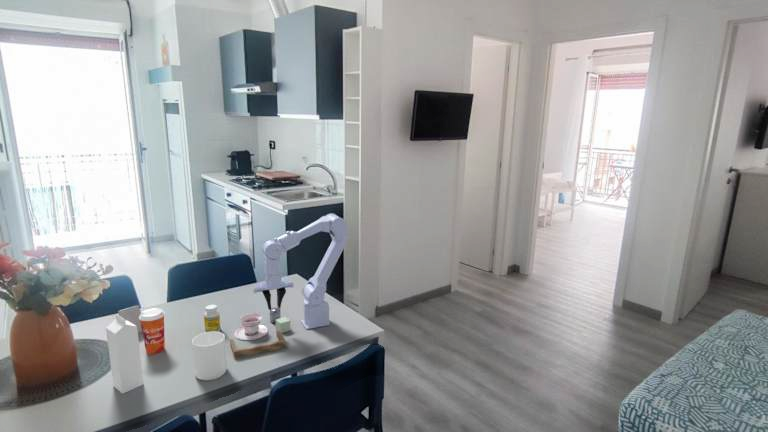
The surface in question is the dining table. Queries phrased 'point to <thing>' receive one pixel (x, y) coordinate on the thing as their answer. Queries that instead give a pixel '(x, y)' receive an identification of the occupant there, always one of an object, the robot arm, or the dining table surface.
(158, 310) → the paper cup
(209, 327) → the supplement bottle
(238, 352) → the wooden cradle
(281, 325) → the sage block
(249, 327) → the teacup
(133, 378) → the milk
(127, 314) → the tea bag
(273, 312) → the grey canister
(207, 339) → the mug
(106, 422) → the dining table surface
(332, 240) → the robot arm
